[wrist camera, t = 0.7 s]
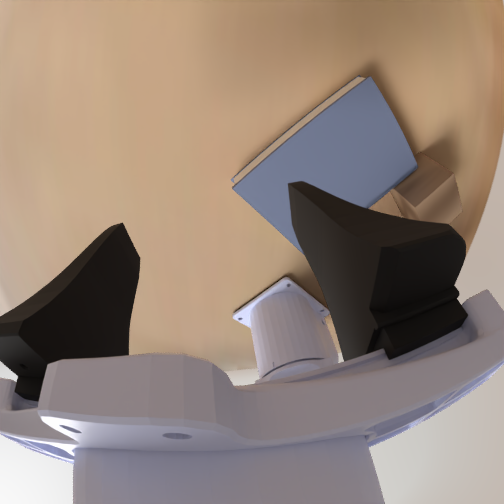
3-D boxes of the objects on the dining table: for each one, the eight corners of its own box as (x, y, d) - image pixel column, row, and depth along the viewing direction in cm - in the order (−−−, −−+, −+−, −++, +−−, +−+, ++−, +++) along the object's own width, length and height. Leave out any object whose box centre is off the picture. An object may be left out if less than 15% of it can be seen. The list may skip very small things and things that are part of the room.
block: (433, 187, 24) (462, 211, 20) (401, 214, 25) (428, 242, 21) (419, 151, 21) (453, 173, 17) (384, 181, 23) (415, 207, 19)
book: (406, 158, 22) (418, 167, 20) (300, 243, 26) (306, 256, 24) (357, 74, 17) (370, 76, 15) (230, 178, 21) (232, 188, 19)
